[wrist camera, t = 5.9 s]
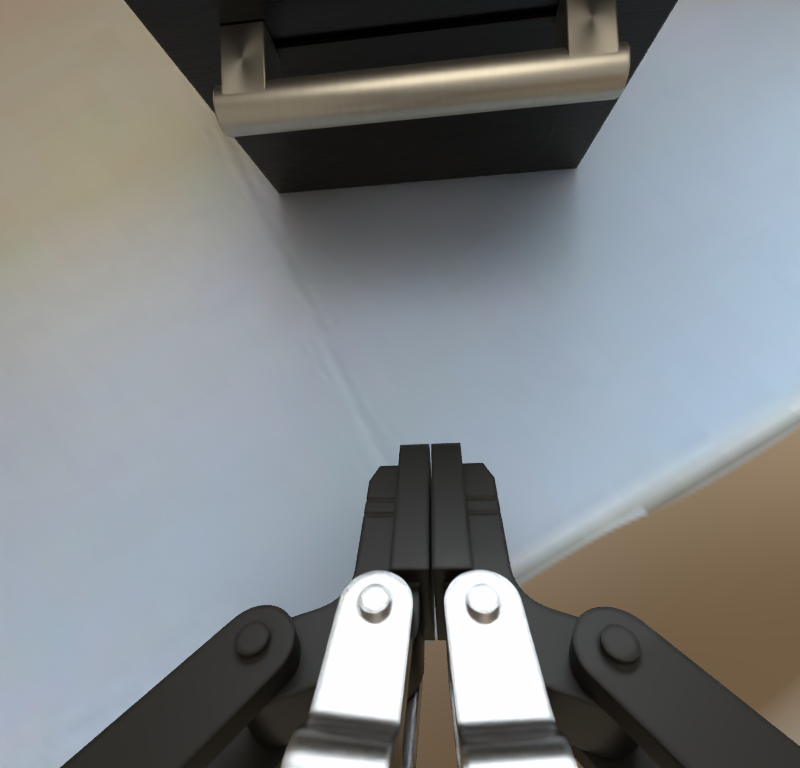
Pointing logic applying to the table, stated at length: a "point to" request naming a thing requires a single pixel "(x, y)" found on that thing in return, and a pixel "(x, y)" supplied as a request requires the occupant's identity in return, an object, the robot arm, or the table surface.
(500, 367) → the table surface
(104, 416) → the table surface
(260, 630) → the robot arm
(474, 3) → the oven door
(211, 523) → the table surface
